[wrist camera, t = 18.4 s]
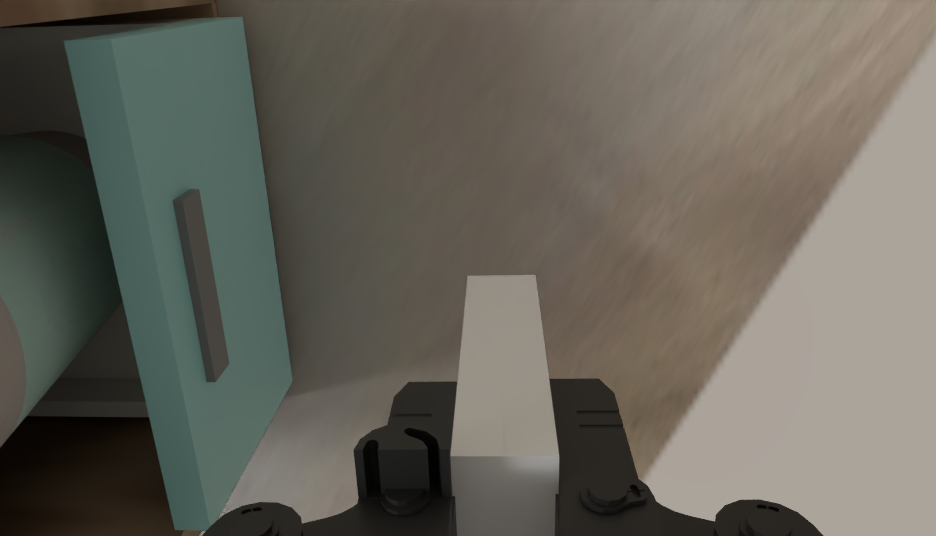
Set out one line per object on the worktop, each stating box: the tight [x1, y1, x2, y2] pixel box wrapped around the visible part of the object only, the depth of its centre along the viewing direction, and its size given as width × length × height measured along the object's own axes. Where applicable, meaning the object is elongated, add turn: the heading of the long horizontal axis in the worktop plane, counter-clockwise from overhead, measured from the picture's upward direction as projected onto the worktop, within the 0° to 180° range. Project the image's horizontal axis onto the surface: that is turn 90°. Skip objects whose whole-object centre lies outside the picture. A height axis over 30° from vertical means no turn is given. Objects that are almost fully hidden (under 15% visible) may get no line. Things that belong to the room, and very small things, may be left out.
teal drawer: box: [0, 17, 293, 531], centre depth 21 cm, size 12×13×8 cm
